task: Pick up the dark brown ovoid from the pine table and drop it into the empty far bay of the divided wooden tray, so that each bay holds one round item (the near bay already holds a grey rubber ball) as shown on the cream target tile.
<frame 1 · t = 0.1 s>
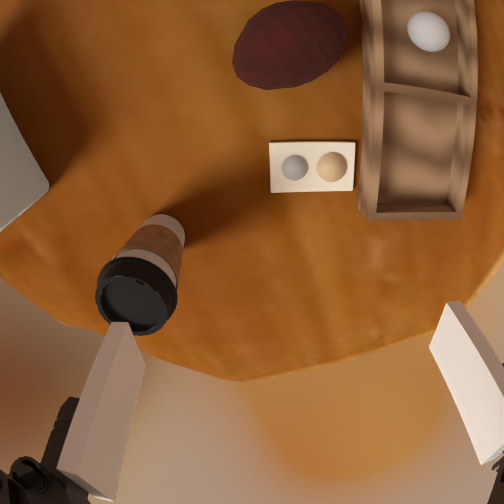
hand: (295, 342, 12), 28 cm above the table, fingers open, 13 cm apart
ball: (418, 32, 27), point 1 cm above the table, touching divided wooden tray
target tile: (312, 165, 37), on the table
white rounded block: (5, 131, 33), on the table
divided wooden tray: (415, 90, 31), on the table
coffee cup: (163, 233, 41), on the table
dark brown ovoid: (283, 48, 30), on the table
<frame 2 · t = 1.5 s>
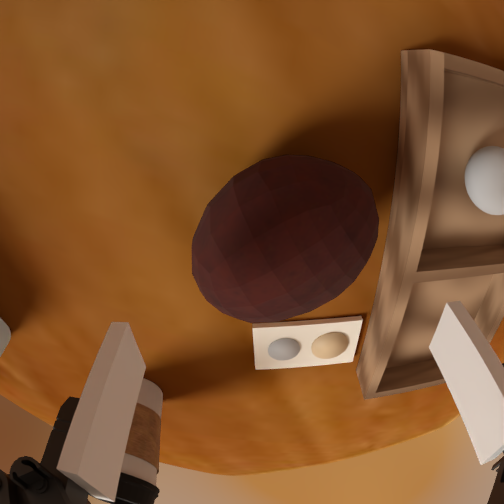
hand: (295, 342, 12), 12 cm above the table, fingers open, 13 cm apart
ball: (476, 169, 20), point 1 cm above the table, touching divided wooden tray
target tile: (306, 342, 30), on the table
divided wooden tray: (452, 246, 25), on the table
coffee cup: (139, 388, 35), on the table
dark brown ovoid: (273, 205, 23), on the table
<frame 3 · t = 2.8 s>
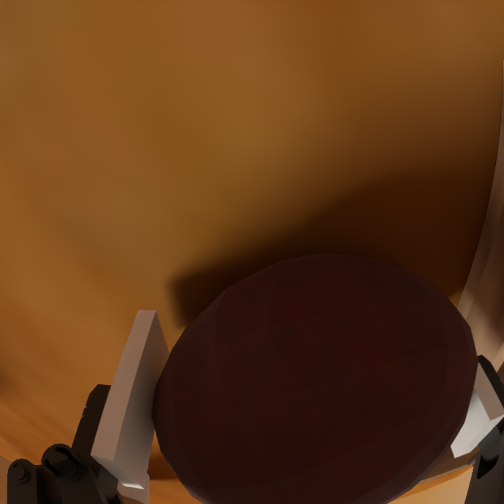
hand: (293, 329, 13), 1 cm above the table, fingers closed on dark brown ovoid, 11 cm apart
coffee cup: (122, 468, 25), on the table
dark brown ovoid: (287, 309, 14), on the table, touching gripper
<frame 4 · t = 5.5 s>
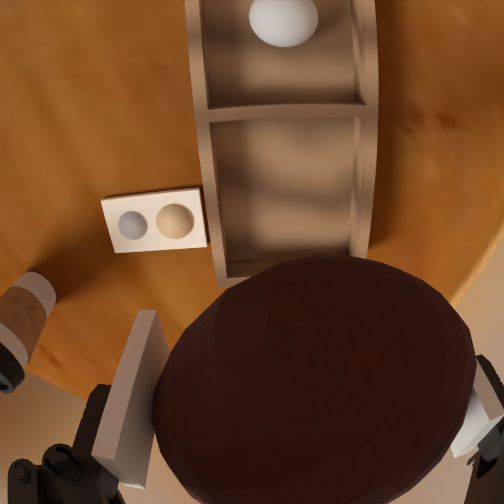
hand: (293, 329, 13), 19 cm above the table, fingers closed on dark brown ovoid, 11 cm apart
ball: (280, 22, 21), point 1 cm above the table, touching divided wooden tray
target tile: (154, 220, 31), on the table
divided wooden tray: (283, 105, 26), on the table
coffee cup: (39, 288, 36), on the table
dark brown ovoid: (286, 310, 14), point 18 cm above the table, touching gripper
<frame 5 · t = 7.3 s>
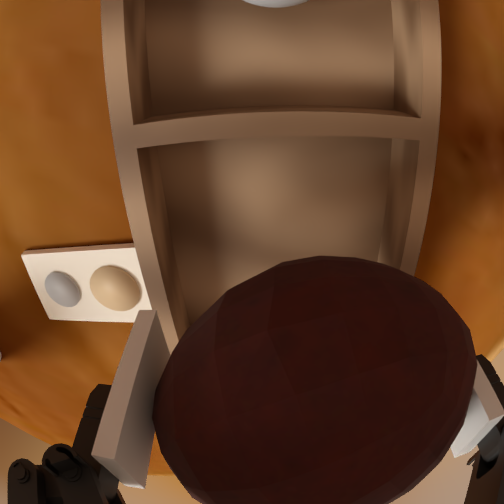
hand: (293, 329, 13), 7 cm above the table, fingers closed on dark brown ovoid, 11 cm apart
target tile: (90, 283, 21), on the table
divided wooden tray: (275, 113, 15), on the table
dark brown ovoid: (287, 310, 14), point 6 cm above the table, touching gripper
when the fingers open (5 cm above the table, at t = 8.2 s): dark brown ovoid drops 3 cm, resting on divided wooden tray.
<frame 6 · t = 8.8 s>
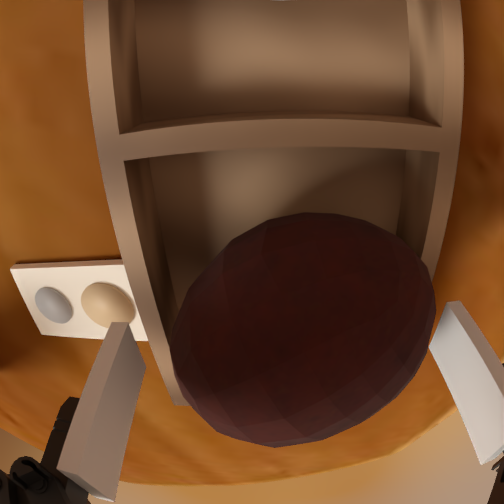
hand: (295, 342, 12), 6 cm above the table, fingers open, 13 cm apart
target tile: (82, 300, 19), on the table
divided wooden tray: (279, 119, 14), on the table
dark brown ovoid: (281, 268, 17), point 1 cm above the table, touching divided wooden tray
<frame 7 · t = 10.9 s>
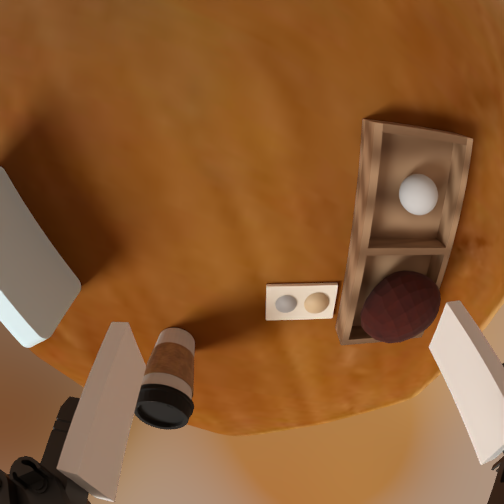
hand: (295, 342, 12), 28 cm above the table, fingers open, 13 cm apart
ball: (409, 188, 37), point 1 cm above the table, touching divided wooden tray
target tile: (300, 300, 46), on the table
white rounded block: (31, 232, 40), on the table
divided wooden tray: (397, 237, 41), on the table
coffee cup: (177, 340, 50), on the table
dark brown ovoid: (388, 287, 44), point 1 cm above the table, touching divided wooden tray
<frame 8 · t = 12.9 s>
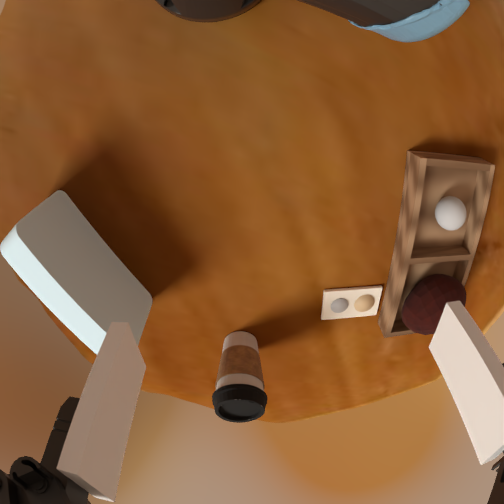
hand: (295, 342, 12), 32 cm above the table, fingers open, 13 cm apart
ball: (442, 206, 42), point 1 cm above the table, touching divided wooden tray
target tile: (351, 301, 52), on the table
white rounded block: (98, 251, 47), on the table
divided wooden tray: (430, 246, 47), on the table
coffee cup: (240, 341, 57), on the table
dark brown ovoid: (422, 287, 50), point 1 cm above the table, touching divided wooden tray
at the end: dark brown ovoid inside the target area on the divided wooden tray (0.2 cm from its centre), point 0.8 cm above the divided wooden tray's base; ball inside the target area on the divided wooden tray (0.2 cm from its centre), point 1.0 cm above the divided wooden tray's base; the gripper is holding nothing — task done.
